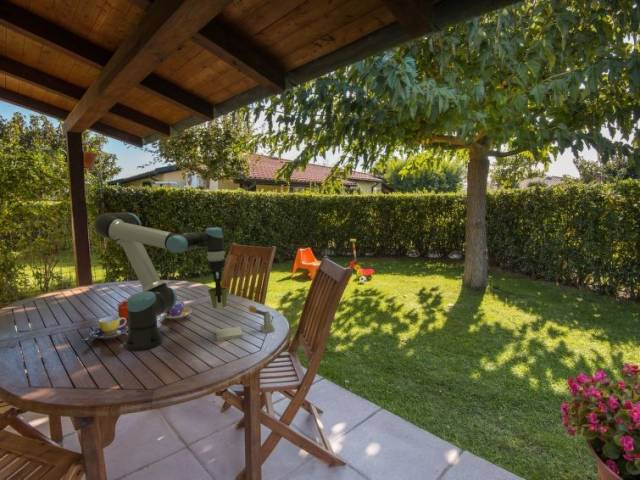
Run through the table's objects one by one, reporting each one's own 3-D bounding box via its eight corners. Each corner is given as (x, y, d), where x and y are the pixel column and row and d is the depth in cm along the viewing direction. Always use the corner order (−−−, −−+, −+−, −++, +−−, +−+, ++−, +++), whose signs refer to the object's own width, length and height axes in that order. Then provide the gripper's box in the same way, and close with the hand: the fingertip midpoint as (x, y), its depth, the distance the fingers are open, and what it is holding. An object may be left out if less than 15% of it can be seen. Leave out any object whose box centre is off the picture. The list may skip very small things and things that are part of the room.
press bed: (217, 340, 162) (216, 337, 162) (216, 332, 173) (216, 329, 173) (242, 337, 166) (242, 334, 166) (240, 329, 177) (240, 326, 176)
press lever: (249, 312, 170) (251, 307, 170) (248, 309, 174) (250, 305, 174) (268, 318, 173) (270, 314, 173) (267, 315, 177) (269, 311, 177)
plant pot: (223, 310, 160) (222, 291, 160) (205, 309, 163) (204, 291, 162) (233, 304, 169) (231, 287, 169) (215, 303, 172) (214, 286, 171)
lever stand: (262, 333, 171) (262, 315, 170) (260, 328, 178) (259, 311, 177) (274, 331, 173) (274, 314, 172) (271, 326, 180) (271, 310, 179)
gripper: (225, 262, 155) (228, 311, 157) (223, 256, 175) (226, 299, 177) (207, 263, 153) (211, 313, 155) (208, 257, 173) (211, 301, 175)
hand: (219, 306), depth 166 cm, fingers closed on plant pot, 8 cm apart
